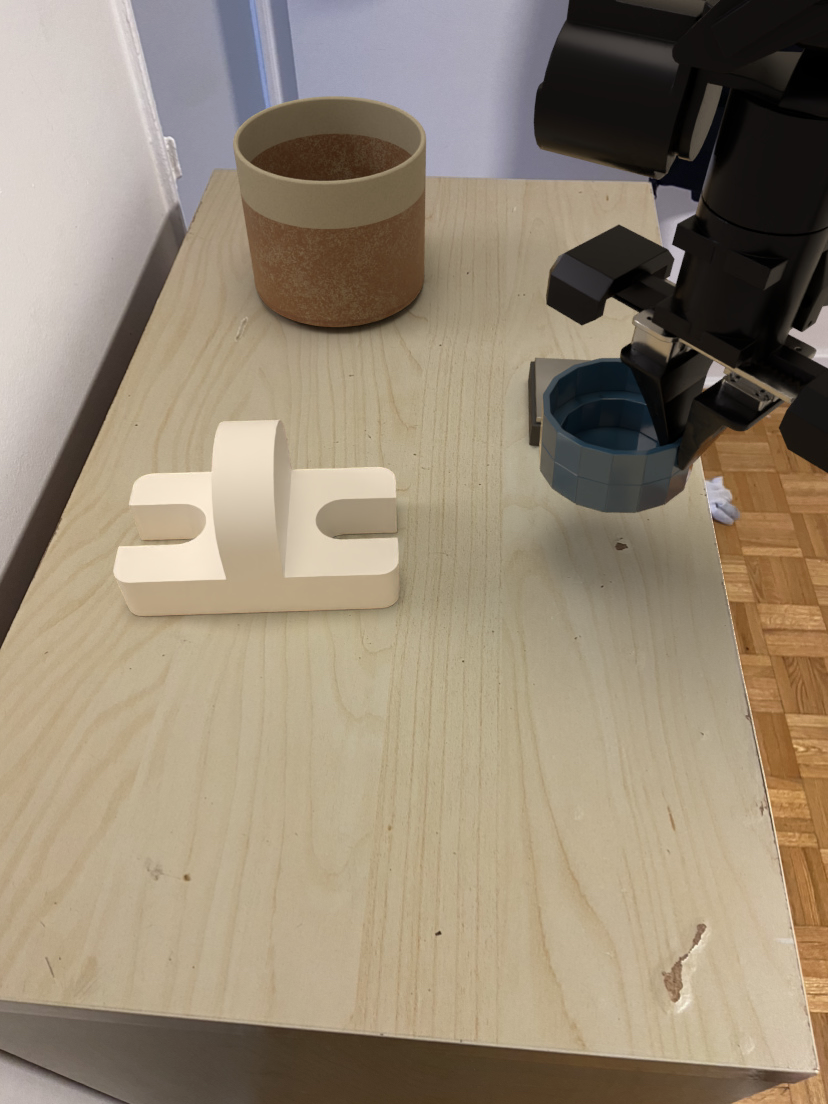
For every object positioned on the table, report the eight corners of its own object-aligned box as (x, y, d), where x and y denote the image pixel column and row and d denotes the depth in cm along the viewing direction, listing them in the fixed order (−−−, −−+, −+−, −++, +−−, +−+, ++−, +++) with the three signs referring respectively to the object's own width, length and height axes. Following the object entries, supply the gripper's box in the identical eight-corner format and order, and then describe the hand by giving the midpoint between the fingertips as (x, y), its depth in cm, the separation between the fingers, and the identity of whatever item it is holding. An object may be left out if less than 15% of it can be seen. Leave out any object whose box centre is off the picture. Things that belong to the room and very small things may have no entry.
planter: (433, 328, 75) (436, 177, 65) (254, 339, 74) (228, 187, 64) (415, 235, 85) (415, 91, 75) (257, 243, 84) (235, 99, 74)
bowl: (717, 495, 51) (736, 430, 47) (578, 536, 49) (586, 471, 45) (642, 408, 57) (653, 344, 53) (516, 441, 55) (518, 378, 51)
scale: (624, 384, 70) (630, 359, 68) (632, 450, 65) (639, 425, 63) (527, 380, 71) (531, 354, 69) (529, 445, 66) (532, 420, 64)
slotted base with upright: (399, 607, 56) (397, 494, 47) (124, 616, 55) (73, 503, 47) (395, 501, 62) (393, 385, 53) (148, 509, 61) (106, 392, 53)
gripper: (1069, 224, 35) (901, 484, 47) (703, 83, 44) (640, 332, 56) (941, 327, 31) (790, 587, 43) (560, 147, 39) (524, 404, 51)
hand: (678, 462), depth 48 cm, fingers closed on bowl
